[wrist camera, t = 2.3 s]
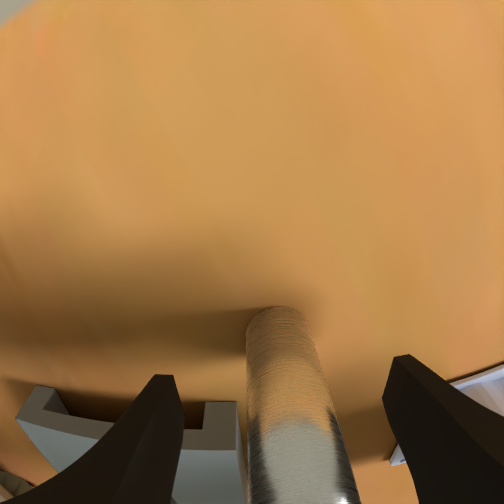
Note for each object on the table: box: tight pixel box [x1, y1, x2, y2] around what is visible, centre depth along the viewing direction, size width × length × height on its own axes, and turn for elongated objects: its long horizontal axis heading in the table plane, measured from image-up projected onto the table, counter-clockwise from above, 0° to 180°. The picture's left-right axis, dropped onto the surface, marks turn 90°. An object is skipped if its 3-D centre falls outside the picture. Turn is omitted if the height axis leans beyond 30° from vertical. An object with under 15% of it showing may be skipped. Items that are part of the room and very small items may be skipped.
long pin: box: [246, 306, 361, 504], centre depth 8 cm, size 3×3×9 cm
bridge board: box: [15, 385, 249, 504], centre depth 15 cm, size 12×12×3 cm
